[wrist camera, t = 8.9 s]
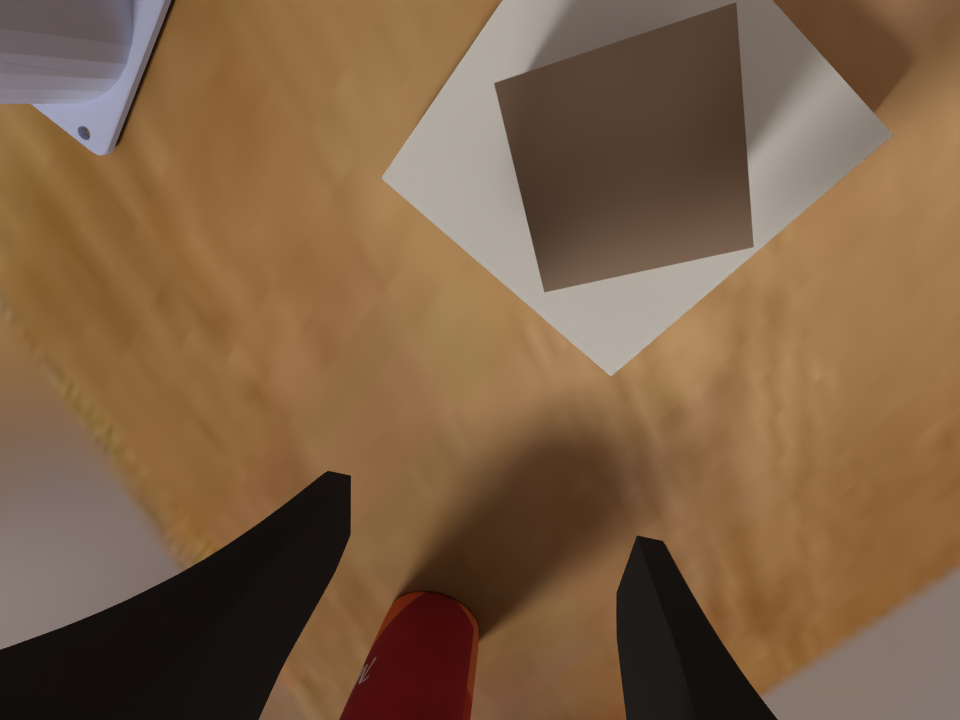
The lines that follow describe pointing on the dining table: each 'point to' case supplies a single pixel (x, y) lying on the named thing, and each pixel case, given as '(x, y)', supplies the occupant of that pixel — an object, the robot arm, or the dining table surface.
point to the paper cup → (419, 663)
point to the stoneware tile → (495, 191)
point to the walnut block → (633, 152)
